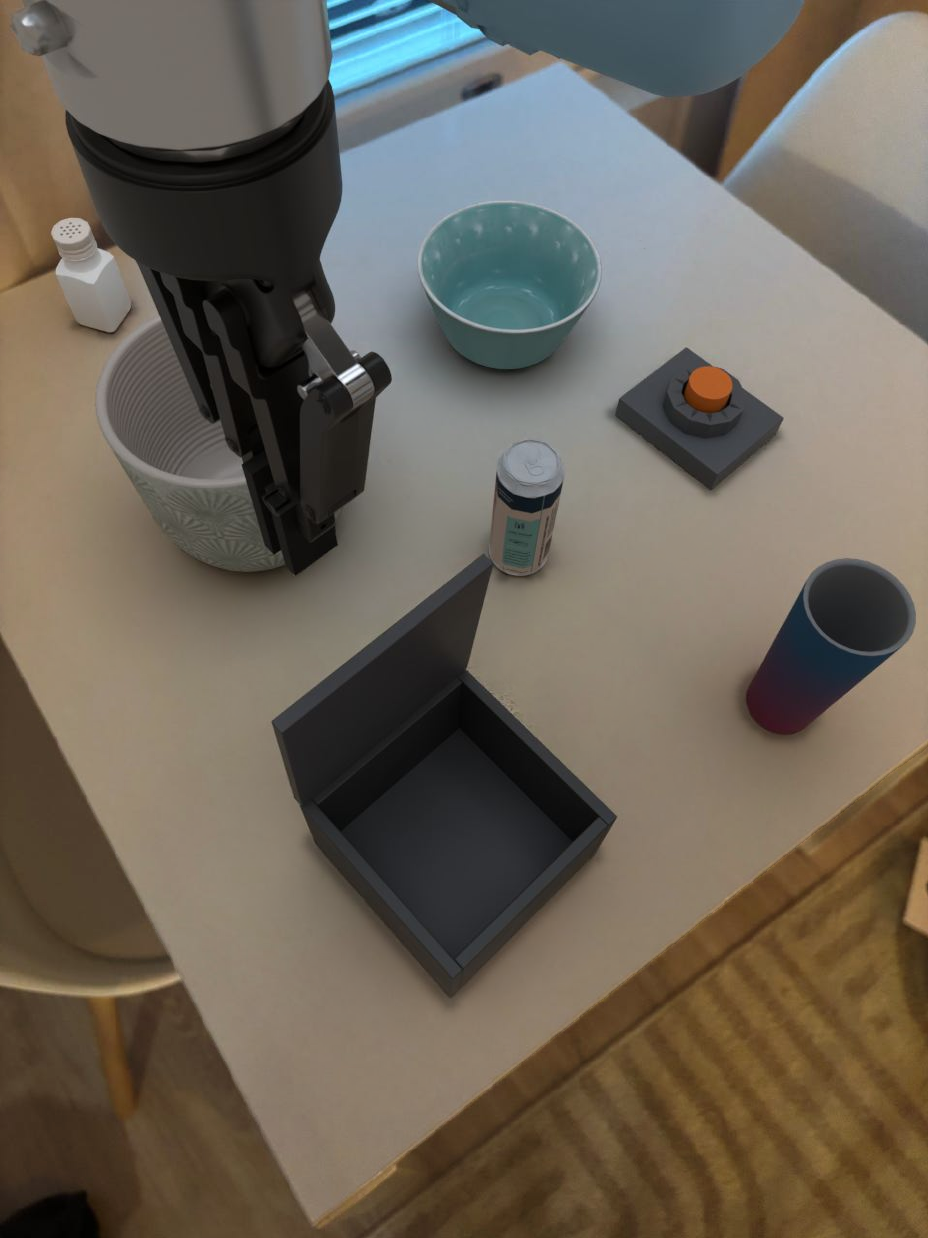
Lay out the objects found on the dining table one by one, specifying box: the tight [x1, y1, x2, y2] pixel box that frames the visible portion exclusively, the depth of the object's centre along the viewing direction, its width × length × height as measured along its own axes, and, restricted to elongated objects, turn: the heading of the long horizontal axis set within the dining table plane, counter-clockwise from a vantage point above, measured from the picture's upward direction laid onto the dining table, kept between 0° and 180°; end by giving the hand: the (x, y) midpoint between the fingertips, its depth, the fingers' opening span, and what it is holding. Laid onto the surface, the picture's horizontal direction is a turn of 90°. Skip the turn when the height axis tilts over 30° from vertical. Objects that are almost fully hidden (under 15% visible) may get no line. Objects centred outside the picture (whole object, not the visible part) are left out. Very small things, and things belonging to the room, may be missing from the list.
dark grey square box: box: [299, 668, 618, 999], centre depth 61 cm, size 14×14×9 cm
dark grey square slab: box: [270, 553, 494, 806], centre depth 52 cm, size 14×14×1 cm
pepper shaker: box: [50, 217, 132, 333], centre depth 83 cm, size 4×4×10 cm
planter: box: [94, 313, 344, 573], centre depth 70 cm, size 17×17×15 cm
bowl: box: [417, 200, 603, 370], centre depth 84 cm, size 16×16×8 cm
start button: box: [684, 366, 732, 413], centre depth 79 cm, size 4×4×2 cm
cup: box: [745, 557, 917, 736], centre depth 64 cm, size 7×7×15 cm
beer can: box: [488, 438, 565, 577], centre depth 71 cm, size 5×5×12 cm
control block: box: [614, 346, 784, 491], centre depth 81 cm, size 11×9×4 cm
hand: (301, 544), depth 47 cm, fingers closed
